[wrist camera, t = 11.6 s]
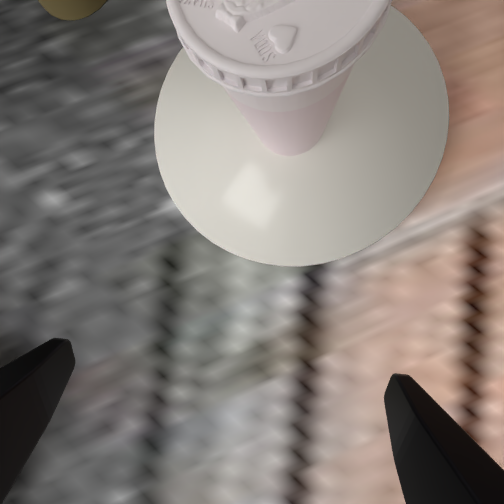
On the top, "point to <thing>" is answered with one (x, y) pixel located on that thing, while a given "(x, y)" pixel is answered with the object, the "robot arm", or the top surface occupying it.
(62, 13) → the cork
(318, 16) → the smoothie
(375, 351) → the top surface
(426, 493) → the robot arm
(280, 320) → the top surface
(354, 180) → the plate
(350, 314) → the top surface
